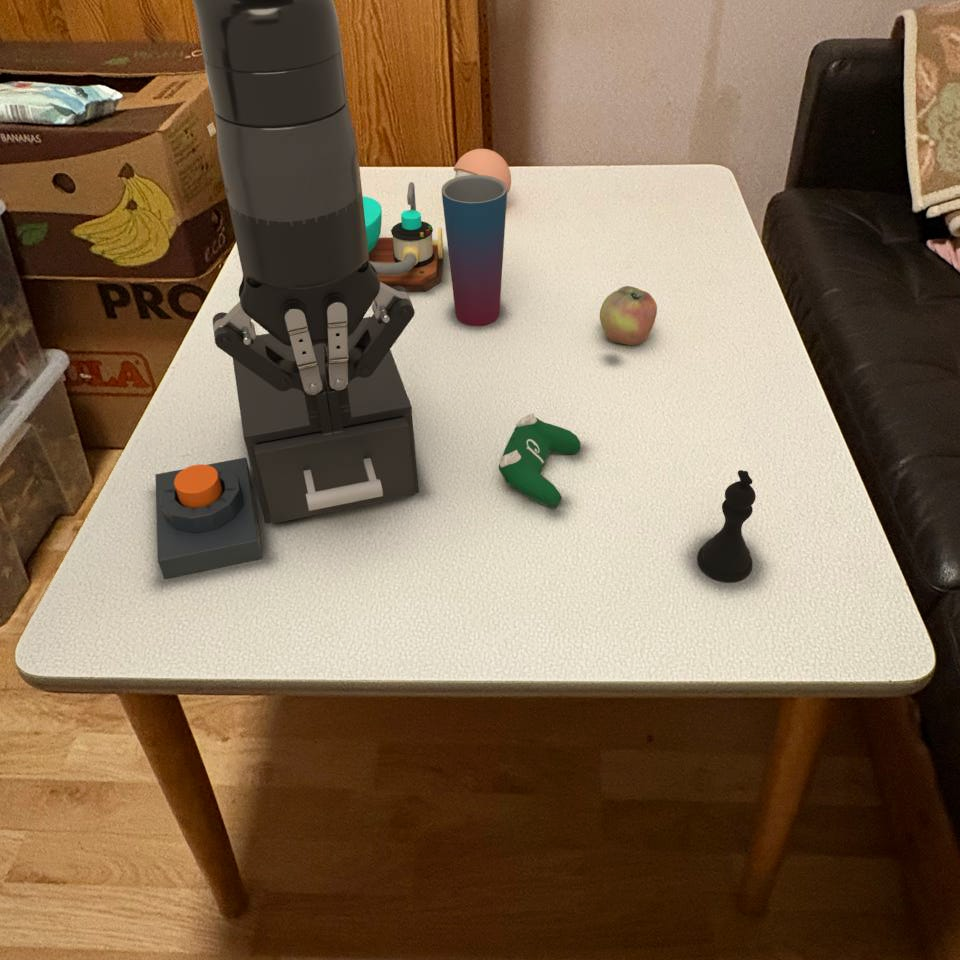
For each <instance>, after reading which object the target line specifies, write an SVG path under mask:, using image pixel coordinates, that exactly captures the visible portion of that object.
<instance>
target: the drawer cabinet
mask: <svg viewBox="0 0 960 960" xmlns="http://www.w3.org/2000/svg"><path fill="white" fill-rule="evenodd" d="M371 317H372V316H366V317H363V319H362V320H361V322H360V323H359V325H358V327H357V328H356V330H355V331H354V332H353V333H352V334H351V335H350V336H348V351H349V350H350V347H351V346H352V344H353V343H354V342H355V340H356V339H357V337H358V336H359V334H360V333H361V331H362V330H363V328H364V327H365V326H366V324H367V323H368V321H369V320H370V318H371ZM256 335H257V336H258V337H260V338H261V339H262V340H264V341H265V342H266V343H268V344H269V345H270V346H272V347H273V348H274V349H276V350H277V351H278V352H280V353H281V354H282V355H284V356H285V357H286V358H287V359H288V360H291V361H296V359H295V355H294V351H293V347H292V346H287V345H285V344H283V343H281V342H280V341H278V340H277V339H276V338H275V337H274V336H272V335H271V334H270V333H269V332H268V333H262V334H256ZM313 350H314V354H315V358H316V362H317V366H318V370H319V374H325V364H324V350H323V344H321V343H320V344H317V345H314V346H313ZM232 365H233V371H234V377H235V385H236V392H237V393H236V394H237V398H238V407H239V413H240V422H241V426H242V428H241V429H242V434H243V435H242V436H243V441H244V444H245V448H246V452H247V456H248V460H249V464H250V468H251V472H252V476H253V480H254V483H255V488H256V492H257V496H258V500H259V504H260V510H261V513H262V516H263V520H264V524H271V519H270V514H269V510H268V506H267V502H266V498H265V494H264V490H263V486H262V481H261V477H260V473H259V469H258V465H257V461H256V457H255V451H254V445H256V444H261V443H264V442H265V441H271V440H276V439H281V438H287V437H292V436H297V435H303V434H308V433H314V432H319V431H321V428H319V429H313V428H312V426H311V425H310V423H309V418H308V414H307V409H306V403H305V397H304V393H303V392H302V391H301V390H299V389H295V388H291V389H290V390H288V391H279V390H277V389H276V388H274V387H273V386H272V385H270V384H269V383H267V382H266V381H265V380H263V379H262V378H260V377H259V376H258V375H256V374H255V373H253V372H252V371H251V370H249V369H248V368H246V367H245V366H244V365H242V364H241V363H239V362H238V361H237V360H235V359H234V358H232ZM322 378H323V375H322ZM323 382H324V381H323ZM348 395H349V403H350V410H351V419H350V422H349V423H347V424H342V425H343V427H346V426H351V425H357V424H362V423H367V422H373V421H378V420H383V419H389V418H394V419H396V418H401V417H406V420H407V423H408V426H409V437H410V448H411V459H412V470H413V481H414V492H415V494H418V493H420V489H419V487H420V486H419V477H418V466H417V456H416V455H417V454H416V453H417V452H416V442H415V431H414V419H413V418H414V417H413V408H412V404H411V401H410V399H409V396H408V394H407V390H406V387H405V385H404V382H403V380H402V377H401V375H400V371H399V368H398V366H397V363H396V361H395V359H394V355H393V353H392V351H391V349H390V350H389V351H388V353H387V354H386V356H385V357H384V358H383V360H382V361H381V363H380V364H379V365H378V367H377V368H376V370H375V371H374V372H373V374H372V375H371V376H369V377H367V378H361V377H359V376H358V377H356V378H354V379H352V380H351V381H350V382H349V384H348Z"/></svg>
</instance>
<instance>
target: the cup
mask: <svg viewBox="0 0 960 960" xmlns="http://www.w3.org/2000/svg"><path fill="white" fill-rule="evenodd" d="M507 198H508V194H507V186H506V184H505V183H504V182H503V181H501V180H500V179H497V178H495V177H491V176H486V175H466V176H460V177H457V178H455V177H454V178H452V179H449V180H447V181H446V182H445V183H444V184H442V186H441V199H442V207H443V216H444V227H445V235H446V243H447V251H448V260H449V269H450V278H451V287H452V295H453V305H454V313H455V318H456V319H457V321H459V322H460V323H462V324H463V325H466V326H467V325H468V326H471V327H472V326H474V327H478V326H479V327H480V326H486V325H490V324H492V323H494V322H496V321H497V320H498V318H499V317H500V313H501V312H500V311H501V294H502V281H503V280H502V279H503V278H502V277H503V263H504V249H505V248H504V247H505V234H506V233H505V231H506V216H507V215H506V213H507Z"/></svg>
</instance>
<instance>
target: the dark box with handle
mask: <svg viewBox="0 0 960 960" xmlns="http://www.w3.org/2000/svg"><path fill="white" fill-rule="evenodd" d="M332 433H333V430H332ZM254 451H255V457H256V461H257V465H258V469H259V473H260V477H261V481H262V486H263V490H264V494H265V498H266V502H267V506H268V510H269V514H270V519H271V522H270V524H277V523H283V522H286V521H292V520H298V519H302V518H307V517H312V516H317V515H322V514H327V513H331V512H337V511H341V510H345V509H346V510H347V509H351V508H357V507H361V506H365V505H370V504H375V503H376V504H377V503H380V502H386V501H392V500H395V499H400V498H404V497H410V496H415V495H416V493H415V492H414V481H413V470H412V459H411V448H410V437H409V426H408V423H407V420H406V417H401V418H396V419H394V418H389V419H383V420H378V421H373V422H367V423H362V424H357V425H351V426H346V427H343V432H340V433H334V434H329V435H324V436H323V435H322V432H321V431H319V432H314V433H308V434H303V435H297V436H292V437H287V438H281V439H276V440H271V441H265V442H264V443H261V444H256V445H254Z"/></svg>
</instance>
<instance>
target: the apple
mask: <svg viewBox="0 0 960 960" xmlns="http://www.w3.org/2000/svg"><path fill="white" fill-rule="evenodd" d="M599 310H600V311H599V322H600V324H601V327H602V330H603V332H604V334H605V336H606V337H607V338H608V339H609V340H610V341H611V342H614V343H617V344H623V345H629V346H635V345H637V344H639V343H642V342H644V341H645V340H647V338H648V337H649V335H650V333H651V331H652V329H653V327H654V324H655V321H656V318H657V314H658V304H657V302H656V300H655V299H654V297H653V296H652V295H651V294H650V292H647V291H646V290H645V291H644V290H642V289H639V288H637V287H635V286H631V285H625V286H621V287H620V288H618V289H617V290H613V292H611V293H609V294H608V296H606V297H605V299H604V301H602V304H601V307H600V309H599Z"/></svg>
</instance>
